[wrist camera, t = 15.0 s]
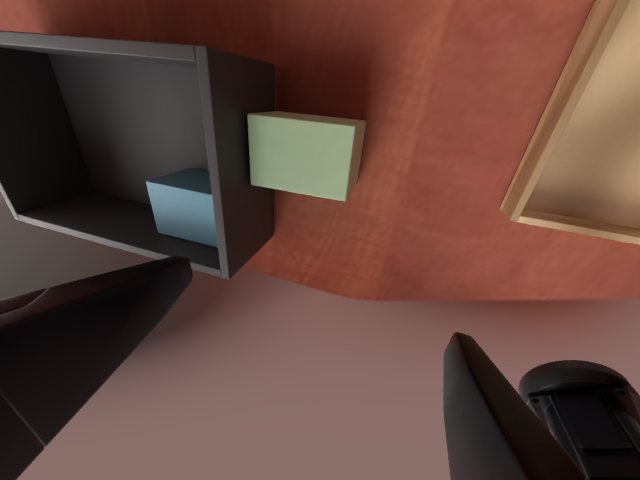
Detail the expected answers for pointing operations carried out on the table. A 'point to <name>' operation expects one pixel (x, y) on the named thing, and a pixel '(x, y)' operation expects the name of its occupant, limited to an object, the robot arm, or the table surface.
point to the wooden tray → (588, 136)
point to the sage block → (305, 153)
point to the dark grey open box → (131, 140)
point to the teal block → (184, 206)
